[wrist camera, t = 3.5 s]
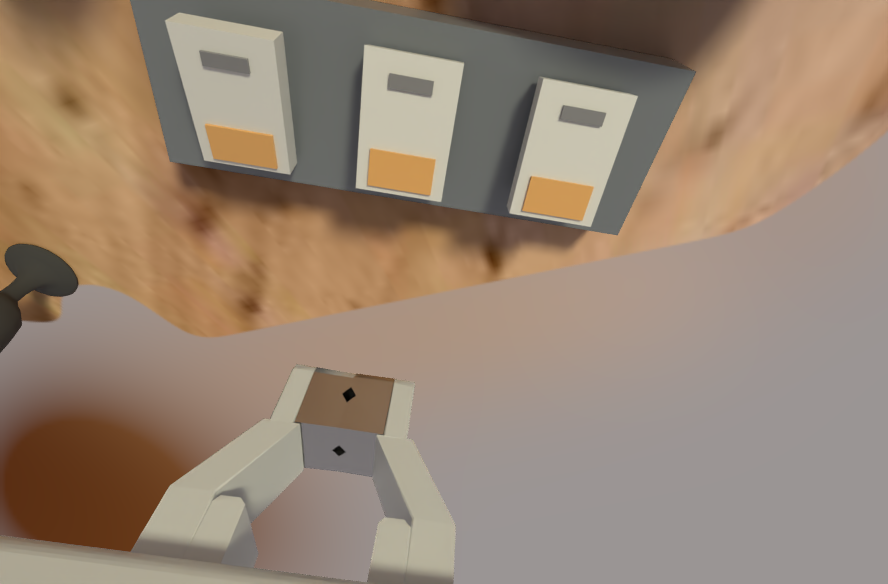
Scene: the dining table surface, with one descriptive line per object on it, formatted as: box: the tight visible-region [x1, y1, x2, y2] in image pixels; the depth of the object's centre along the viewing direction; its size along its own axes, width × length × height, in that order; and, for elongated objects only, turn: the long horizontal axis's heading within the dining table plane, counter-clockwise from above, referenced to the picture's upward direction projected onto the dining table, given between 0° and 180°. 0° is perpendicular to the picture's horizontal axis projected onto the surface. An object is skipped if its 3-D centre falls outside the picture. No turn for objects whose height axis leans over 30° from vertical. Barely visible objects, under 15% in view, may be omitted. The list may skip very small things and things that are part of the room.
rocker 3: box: [507, 77, 638, 227], centre depth 22 cm, size 4×6×2 cm
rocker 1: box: [165, 13, 297, 175], centre depth 21 cm, size 4×6×2 cm
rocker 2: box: [356, 45, 464, 202], centre depth 21 cm, size 4×6×2 cm
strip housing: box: [130, 0, 696, 235], centre depth 23 cm, size 26×9×3 cm, turn 81°
